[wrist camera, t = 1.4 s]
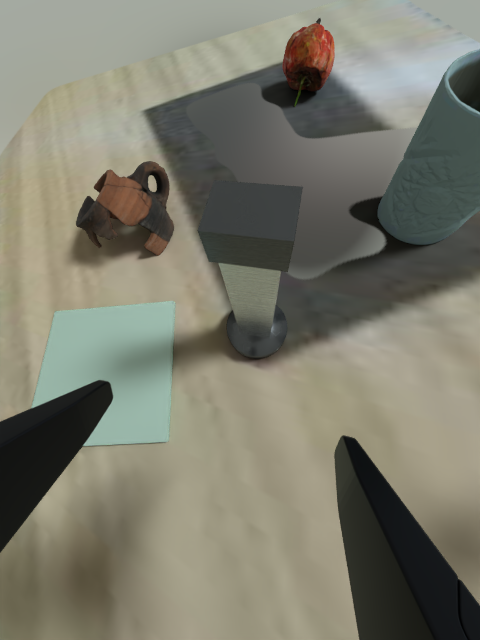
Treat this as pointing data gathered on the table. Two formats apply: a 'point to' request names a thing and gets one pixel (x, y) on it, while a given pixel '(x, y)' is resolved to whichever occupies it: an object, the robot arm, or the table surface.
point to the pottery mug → (129, 206)
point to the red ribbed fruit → (308, 58)
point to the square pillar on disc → (252, 257)
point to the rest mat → (115, 367)
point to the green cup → (439, 163)
